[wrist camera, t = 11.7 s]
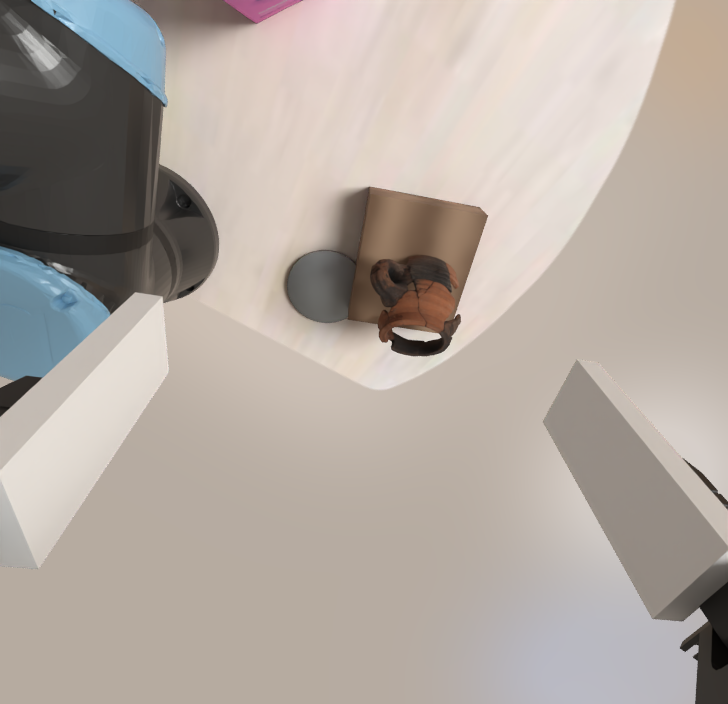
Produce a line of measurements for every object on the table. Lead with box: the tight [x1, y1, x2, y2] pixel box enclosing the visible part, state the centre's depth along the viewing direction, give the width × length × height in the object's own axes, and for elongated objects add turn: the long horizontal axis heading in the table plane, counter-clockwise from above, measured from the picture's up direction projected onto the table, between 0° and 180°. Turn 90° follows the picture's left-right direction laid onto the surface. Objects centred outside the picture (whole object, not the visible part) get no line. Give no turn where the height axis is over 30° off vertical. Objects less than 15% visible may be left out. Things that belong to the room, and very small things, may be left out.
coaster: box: [287, 250, 356, 323], centre depth 49 cm, size 9×9×1 cm
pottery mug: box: [370, 255, 461, 356], centre depth 44 cm, size 12×9×8 cm
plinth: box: [348, 187, 488, 333], centre depth 46 cm, size 12×14×4 cm
